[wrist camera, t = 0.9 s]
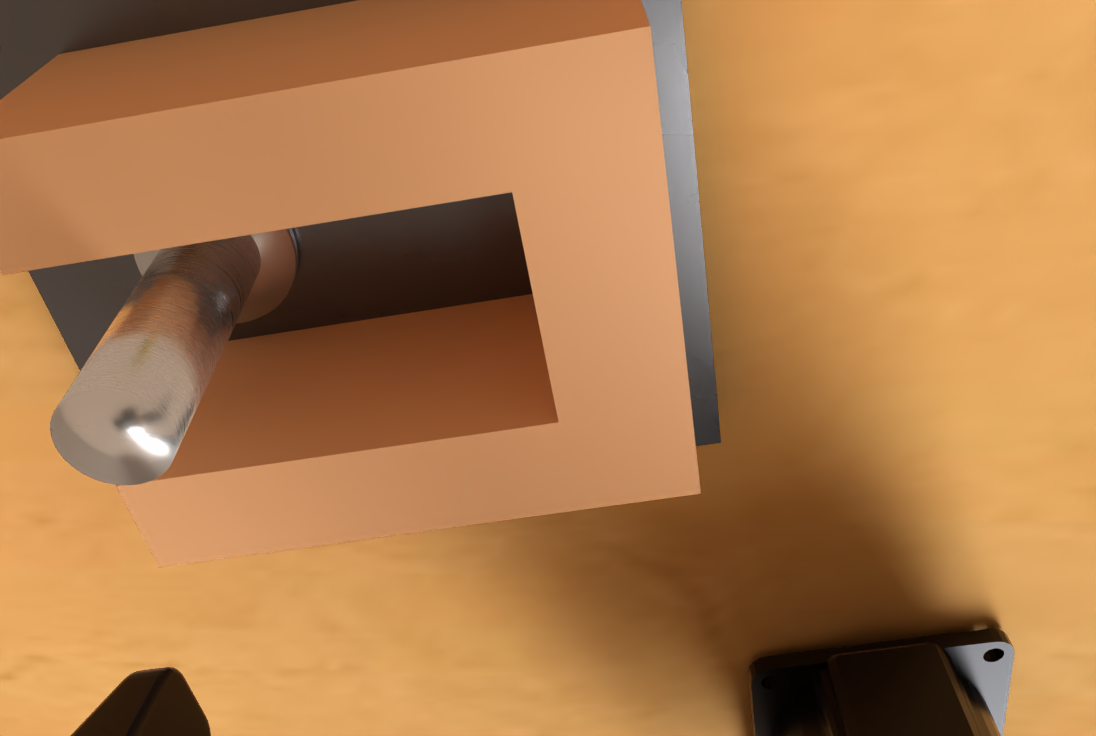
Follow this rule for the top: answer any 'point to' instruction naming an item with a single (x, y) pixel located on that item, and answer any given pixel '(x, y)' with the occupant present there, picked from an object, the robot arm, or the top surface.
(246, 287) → the peg stand
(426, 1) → the c link
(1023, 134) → the top surface
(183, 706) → the robot arm
